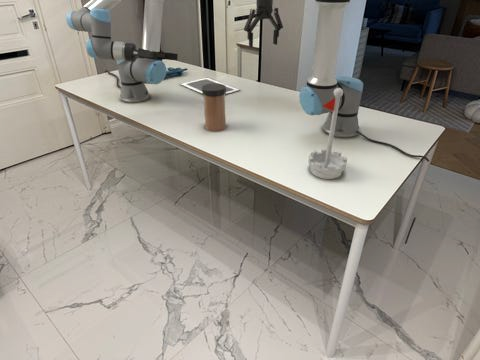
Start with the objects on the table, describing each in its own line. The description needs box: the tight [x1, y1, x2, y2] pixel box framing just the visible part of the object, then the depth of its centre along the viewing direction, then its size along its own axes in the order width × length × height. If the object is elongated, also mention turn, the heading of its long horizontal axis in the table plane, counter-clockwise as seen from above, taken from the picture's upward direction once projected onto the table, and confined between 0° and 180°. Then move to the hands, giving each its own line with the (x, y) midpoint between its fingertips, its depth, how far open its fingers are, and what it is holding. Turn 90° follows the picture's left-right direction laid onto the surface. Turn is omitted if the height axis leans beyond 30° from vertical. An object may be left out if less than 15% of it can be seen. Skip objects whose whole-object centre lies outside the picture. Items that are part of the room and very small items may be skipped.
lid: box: [202, 83, 226, 96], centre depth 144 cm, size 10×10×2 cm
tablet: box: [179, 77, 241, 96], centre depth 200 cm, size 32×20×1 cm, turn 41°
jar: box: [203, 94, 227, 132], centre depth 149 cm, size 9×9×18 cm
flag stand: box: [307, 88, 348, 180], centre depth 113 cm, size 13×13×30 cm
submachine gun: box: [165, 66, 188, 78], centre depth 221 cm, size 34×4×25 cm
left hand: (175, 56), depth 147 cm, fingers open, 13 cm apart
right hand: (263, 45), depth 167 cm, fingers open, 13 cm apart
